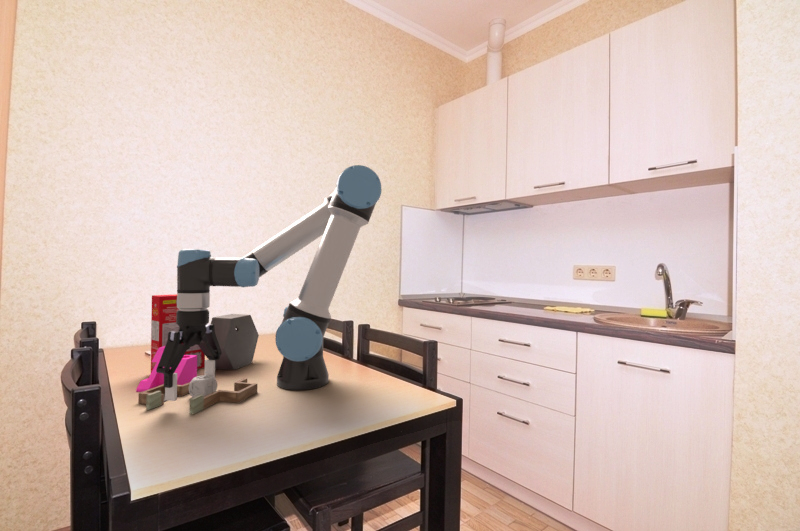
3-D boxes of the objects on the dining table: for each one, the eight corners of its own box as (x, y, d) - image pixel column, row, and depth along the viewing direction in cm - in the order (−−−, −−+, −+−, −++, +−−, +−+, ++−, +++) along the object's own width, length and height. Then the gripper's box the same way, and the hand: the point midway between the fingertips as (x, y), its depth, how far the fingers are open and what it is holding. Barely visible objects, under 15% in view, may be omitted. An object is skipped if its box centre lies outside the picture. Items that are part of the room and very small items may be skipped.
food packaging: (196, 365, 140) (197, 293, 140) (204, 367, 137) (205, 294, 137) (150, 374, 128) (151, 295, 128) (158, 377, 125) (159, 296, 125)
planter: (245, 344, 153) (226, 301, 142) (263, 345, 151) (245, 302, 140) (219, 379, 139) (196, 334, 128) (239, 381, 138) (218, 336, 126)
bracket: (164, 379, 123) (164, 345, 123) (196, 380, 122) (197, 346, 122) (136, 392, 111) (136, 354, 111) (172, 393, 110) (173, 355, 110)
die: (204, 400, 105) (204, 380, 105) (188, 398, 106) (188, 379, 106) (217, 394, 110) (217, 375, 110) (201, 392, 111) (201, 374, 111)
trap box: (264, 388, 115) (264, 376, 115) (213, 416, 94) (214, 401, 94) (191, 382, 120) (191, 370, 120) (127, 407, 99) (127, 393, 99)
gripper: (213, 303, 117) (211, 377, 117) (139, 314, 93) (137, 406, 93) (236, 305, 115) (234, 379, 115) (167, 315, 91) (165, 409, 91)
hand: (191, 391), depth 104 cm, fingers open, 13 cm apart
